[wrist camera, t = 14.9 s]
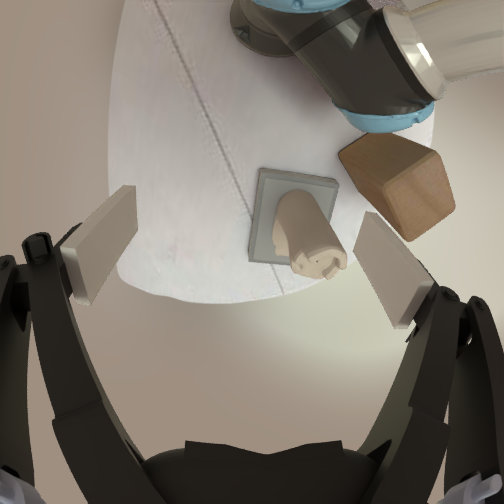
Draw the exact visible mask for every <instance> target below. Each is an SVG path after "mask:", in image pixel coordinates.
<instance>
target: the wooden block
mask: <svg viewBox="0 0 504 504" xmlns="http://www.w3.org/2000/svg"><path fill="white" fill-rule="evenodd" d="M339 159H340V160H341V162H342V164H343V165H344V167H345V168H346V170H347V172H348V173H349V175H350V177H351V178H352V180H353V182H354V184H355V185H356V187H357V189H358V191H359V192H360V193H361V194H362V195H363V196H364V197H365V198H366V199H367V200H368V201H369V202H370V203H371V204H372V205H373V206H374V207H375V209H376V210H377V211H378V212H379V213H380V214H381V215H382V216H383V217H384V218H385V219H386V220H387V221H388V222H389V223H390V224H391V226H392V227H393V228H394V229H395V230H396V231H397V232H398V233H399V234H400V235H401V237H402V238H403V239H404V240H406V241H407V242H411V241H413V240H414V239H416V238H417V237H419V236H420V235H422V234H423V233H425V232H426V231H427V230H429V229H430V228H432V227H433V226H434V225H436V224H437V223H439V222H440V221H441V220H443V219H444V218H445V217H447V216H448V215H449V214H451V213H452V212H453V211H454V210H455V201H454V198H453V194H452V190H451V187H450V184H449V180H448V177H447V174H446V171H445V168H444V165H443V162H442V159H441V157H440V155H439V154H438V153H437V152H436V151H435V150H432V149H430V148H428V147H426V146H423V145H421V144H418V143H416V142H413V141H411V140H408V139H406V138H403V137H401V136H398V135H395V134H392V133H368V134H367V135H365V136H363V137H362V138H360V139H359V140H357V141H356V142H354V143H353V144H351V145H350V146H348V147H346V148H345V149H343V150H342V151H341V152H340V153H339Z"/></svg>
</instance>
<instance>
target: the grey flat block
mask: <svg viewBox="0 0 504 504" xmlns="http://www.w3.org/2000/svg"><path fill="white" fill-rule="evenodd" d="M338 188H339V183H338V182H337V181H336V180H335V179H330V178H324V177H319V176H313V175H306V174H300V173H293V172H287V171H279V170H272V169H264V168H260V175H259V182H258V189H257V196H256V203H255V210H254V217H253V224H252V231H251V238H250V245H249V253H248V261H249V262H258V263H269V264H280V265H290V259H289V256H282V255H279V256H278V255H276V253H275V249H276V245H274V243H273V240H272V232H273V225H274V220H275V216H276V213H277V206H278V202H279V200H280V199H281V197H282V196H283V195H284V194H286V193H287V192H289V191H292V190H304V191H307V192H309V193H310V194H311V195H312V196H313V197H314V198H315V200H316V202H317V203H318V205H319V207H320V209H321V211H322V212H323V214H324V216H325V217H326V219H327V220H328V222H329V223H330V219H331V216H332V212H333V208H334V204H335V200H336V196H337V192H338Z"/></svg>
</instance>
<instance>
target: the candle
mask: <svg viewBox="0 0 504 504" xmlns="http://www.w3.org/2000/svg"><path fill="white" fill-rule="evenodd" d="M272 240H273V243H274V245H276V249H275V253H276V255H278V256H279V255H282V256H289V259H290V266H291V269H292V271H293V272H294V273H298V274H300V275H302V276H306V277H311V278H315V279H322V278H324V277H325V278H326V279H331V278H332V277H334V276H335V275H336V274H337V272H338V271H339V270H340V269H341V270H343V269H345V268H346V267H347V254H346V252H345V250H344V248H343V247H342V245H341V243H340V241H339V240H338V238H337V236H336V234H335V232H334V231H333V229H332V227H331V225H330V224H329V222H328V220H327V219H326V217H325V216H324V214H323V212H322V211H321V209H320V207H319V205H318V203H317V202H316V200H315V198H314V197H313V196H312V195H311V194H310V193H309V192H307V191H304V190H292V191H289V192H287V193H286V194H284V195H283V196H282V197H281V199H280V200H279V202H278V206H277V213H276V216H275V220H274V225H273V232H272Z"/></svg>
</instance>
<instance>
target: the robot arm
mask: <svg viewBox="0 0 504 504" xmlns="http://www.w3.org/2000/svg"><path fill="white" fill-rule="evenodd" d="M230 21H231V26H232V29H233V31H234V33H235V35H236V37H237V38H238V39H239V40H240V42H241V43H243V44H244V45H245V46H246V47H248V48H249V49H251V50H253V51H255V52H257V53H260V54H263V55H266V56H272V57H286V56H291V55H296V56H297V57H298V58H299V59H300V61H301V62H302V63H303V64H304V65H305V66H306V67H307V69H308V70H309V71H310V72H311V73H312V75H313V76H314V77H315V78H316V79H317V81H318V82H319V83H320V84H321V86H322V87H323V88H324V89H325V91H326V92H327V93H328V94H329V96H330V97H331V98H332V102H333V104H334V105H335V107H336V108H338V109H339V110H340V111H341V112H342V113H343V114H344V116H345V117H346V118H347V120H348V121H349V122H350V123H351V124H352V125H353V126H354V127H356V128H357V129H359V130H361V131H364V132H368V133H390V132H395V131H400V130H404V129H407V128H409V127H412V124H413V123H420V122H422V121H424V120H425V119H426V118H428V117H429V116H430V114H431V113H432V112H433V109H434V101H436V100H440V99H442V98H443V96H444V94H445V91H446V88H447V86H448V84H449V83H450V82H454V81H458V80H462V79H467V78H471V77H475V76H481V75H486V74H491V73H497V72H503V71H504V0H439V1H436V2H433V3H431V4H428V5H425V6H422V7H419V8H417V9H414V10H412V11H404V10H401V9H399V8H396V7H392V6H385V7H383V8H381V9H379V10H377V11H375V10H374V9H373V8H372V6H371V5H370V4H369V3H368V2H367V0H234V2H233V4H232V7H231V11H230ZM137 231H138V223H137V207H136V186H126V185H123V186H122V187H121V188H120V189H119V190H118V191H116V192H115V193H114V194H113V195H112V196H111V197H110V198H109V199H108V200H106V201H105V202H104V203H103V204H102V205H101V206H100V207H99V208H98V209H97V210H96V211H95V212H93V213H92V214H91V215H90V216H89V217H88V218H87V219H86V220H85V221H84V222H83V223H79V224H78V225H76V226H74V227H72V228H71V229H70V230H69V232H67V234H65V235H64V236H63V238H62V239H61V240H60V241H59V242H58V243H57V244H56V245H55V246H54V247H53V245H52V241H51V236H50V235H49V233H46V232H40V233H35V234H33V235H31V236H29V237H28V238H26V239H25V240H24V241H23V243H22V248H23V252H24V255H25V258H26V261H27V264H21V265H17V264H16V261H15V258H14V257H13V256H12V255H5V256H1V257H0V504H46V503H45V501H44V500H43V499H42V498H41V496H40V494H39V493H38V492H37V490H36V489H35V488H34V485H35V484H34V468H33V460H32V453H31V445H30V437H29V426H28V410H27V367H28V366H27V365H28V350H29V338H30V330H31V321H32V323H33V330H34V336H35V341H36V346H37V351H38V356H39V360H40V365H41V369H42V373H43V377H44V381H45V384H46V388H47V391H48V394H49V398H50V401H51V404H52V407H53V410H54V413H55V419H53V420H52V426H53V429H54V432H55V435H56V438H57V440H58V443H59V445H60V448H61V450H62V452H63V455H64V457H65V459H66V461H67V464H68V466H69V468H70V470H71V472H72V474H73V476H74V478H75V480H76V482H77V484H78V486H79V488H80V489H81V491H82V493H83V495H84V497H85V498H86V500H87V502H88V504H428V503H427V500H428V498H429V496H430V494H431V491H432V489H433V486H434V484H435V481H436V478H437V476H438V473H439V470H440V467H441V464H442V461H443V458H444V455H445V452H446V448H447V454H446V463H445V475H444V499H442V500H440V501H438V503H437V504H504V352H503V348H502V345H501V342H500V338H499V335H498V332H497V329H496V326H495V323H494V320H493V317H492V314H491V312H490V309H489V307H488V305H487V304H486V303H485V301H484V300H483V299H482V298H479V297H477V296H472V297H471V298H470V300H469V301H468V303H467V304H466V303H463V302H460V299H459V297H458V295H457V294H456V293H455V292H454V291H453V290H451V289H450V288H448V287H445V286H439V285H438V284H437V282H436V281H435V280H434V279H433V277H432V276H431V274H430V273H428V271H427V269H426V268H424V266H423V264H422V263H421V262H420V261H419V260H418V259H416V258H415V257H414V255H413V254H412V253H411V252H410V250H409V249H408V248H407V247H406V246H405V245H404V243H403V242H402V241H401V240H400V239H399V237H398V236H397V235H396V234H395V233H394V232H393V231H392V229H391V228H390V227H389V226H388V225H387V224H386V223H385V222H384V221H383V219H382V218H381V217H380V216H379V215H378V214H377V213H373V212H368V211H366V212H365V215H364V219H363V222H362V225H361V228H360V231H359V234H358V237H357V240H356V243H355V246H354V249H353V252H354V254H355V256H356V258H357V259H358V261H359V263H360V265H361V266H362V268H363V270H364V272H365V273H366V275H367V277H368V279H369V281H370V283H371V284H372V286H373V288H374V290H375V292H376V293H377V296H378V298H379V299H380V301H381V303H382V305H383V307H384V309H385V311H386V313H387V315H388V317H389V319H390V321H391V323H392V325H393V327H394V329H407V328H408V326H409V325H410V323H411V321H412V320H413V319H414V321H415V323H416V326H415V328H414V329H413V331H412V332H411V334H410V335H409V337H408V338H407V340H406V341H405V342H408V341H409V343H408V346H407V349H406V352H405V354H404V357H403V360H402V362H401V365H400V368H399V370H398V373H397V375H396V378H395V380H394V382H393V385H392V387H391V389H390V392H389V394H388V396H387V399H386V401H385V403H384V405H383V407H382V409H381V411H380V413H379V415H378V417H377V419H376V421H375V423H374V425H373V427H372V429H371V431H370V433H369V435H368V436H367V438H366V440H365V442H364V443H363V444H362V446H361V447H360V448H359V449H358V450H357V451H353V450H348V449H343V447H342V441H341V440H339V441H331V442H322V443H311V444H305V445H301V446H298V447H295V448H291V449H288V450H284V451H281V452H277V453H273V454H261V453H256V452H252V451H248V450H244V449H240V448H237V447H233V446H229V445H226V444H213V443H212V444H211V443H202V442H193V441H185V448H182V449H175V450H169V451H166V452H163V453H159V454H157V455H155V456H153V457H151V458H149V459H147V460H145V459H144V458H143V456H142V455H141V453H140V452H139V450H138V449H137V447H136V446H135V445H134V443H133V442H132V440H131V439H130V437H129V435H128V434H127V432H126V430H125V429H124V427H123V425H122V423H121V422H120V420H119V418H118V416H117V414H116V413H115V411H114V409H113V407H112V405H111V403H110V401H109V399H108V397H107V395H106V393H105V391H104V389H103V387H102V385H101V383H100V380H99V378H98V376H97V374H96V371H95V369H94V367H93V365H92V362H91V360H90V357H89V355H88V352H87V350H86V347H85V345H84V342H83V340H82V337H81V334H80V331H79V328H78V325H77V323H76V319H75V317H74V314H73V310H72V307H71V304H70V301H69V297H70V295H71V294H72V292H73V294H74V297H75V300H76V303H81V304H85V305H90V306H91V304H92V303H93V301H94V299H95V297H96V296H97V294H98V292H99V290H100V289H101V287H102V285H103V284H104V282H105V280H106V279H107V277H108V275H109V274H110V272H111V270H112V269H113V267H114V265H115V264H116V262H117V261H118V259H119V258H120V256H121V255H122V253H123V252H124V250H125V248H126V247H127V245H128V244H129V242H130V241H131V239H132V238H133V236H134V235H135V234H136V232H137ZM471 338H472V339H471ZM470 339H471V342H470V343H469V345H468V342H469V341H470ZM448 401H449V416H448V424H446V423H444V418H445V414H446V409H447V405H448Z"/></svg>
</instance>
